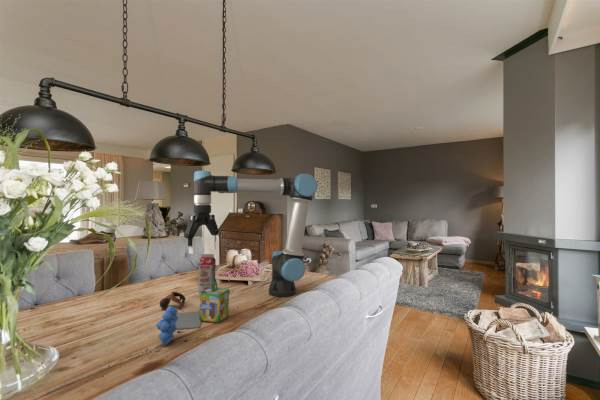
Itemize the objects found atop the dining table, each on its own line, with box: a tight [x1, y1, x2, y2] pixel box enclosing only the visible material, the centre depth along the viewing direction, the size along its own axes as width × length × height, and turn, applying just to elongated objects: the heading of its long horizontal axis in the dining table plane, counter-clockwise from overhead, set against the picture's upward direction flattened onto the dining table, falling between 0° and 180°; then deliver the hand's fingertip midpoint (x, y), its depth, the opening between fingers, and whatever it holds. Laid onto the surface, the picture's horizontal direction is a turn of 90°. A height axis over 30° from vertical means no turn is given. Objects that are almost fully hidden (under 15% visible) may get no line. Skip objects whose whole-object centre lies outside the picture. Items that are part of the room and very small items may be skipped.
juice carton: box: [197, 253, 216, 298], centre depth 154 cm, size 7×7×22 cm
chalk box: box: [199, 281, 230, 324], centre depth 123 cm, size 9×9×15 cm
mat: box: [159, 311, 202, 332], centre depth 120 cm, size 14×17×1 cm
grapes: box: [155, 305, 179, 346], centre depth 102 cm, size 12×7×12 cm, turn 3°
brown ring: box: [159, 291, 186, 311], centre depth 134 cm, size 12×10×8 cm
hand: (202, 251), depth 132 cm, fingers open, 13 cm apart
